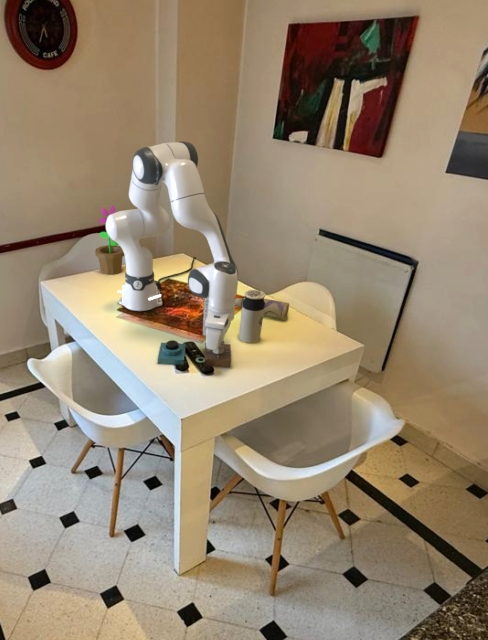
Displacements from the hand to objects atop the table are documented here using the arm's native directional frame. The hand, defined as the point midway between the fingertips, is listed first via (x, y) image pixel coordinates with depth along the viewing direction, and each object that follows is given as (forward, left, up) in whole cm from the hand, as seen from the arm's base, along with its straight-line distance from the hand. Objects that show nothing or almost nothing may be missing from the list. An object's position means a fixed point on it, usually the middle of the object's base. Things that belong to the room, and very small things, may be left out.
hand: (218, 348), depth 159 cm
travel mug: (-16, +12, -4) cm, 20 cm away
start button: (0, -16, 0) cm, 16 cm away
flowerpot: (-77, -53, -4) cm, 94 cm away
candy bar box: (-21, -3, -4) cm, 22 cm away
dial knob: (0, 0, -1) cm, 1 cm away
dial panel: (0, 0, -4) cm, 4 cm away
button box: (0, -16, -4) cm, 17 cm away
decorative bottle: (-39, +17, -4) cm, 43 cm away
